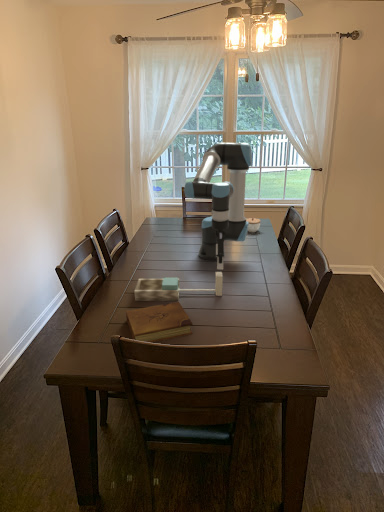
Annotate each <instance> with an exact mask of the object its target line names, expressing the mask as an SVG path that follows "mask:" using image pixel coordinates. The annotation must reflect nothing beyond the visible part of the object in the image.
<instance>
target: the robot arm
mask: <svg viewBox="0 0 384 512" xmlns="http://www.w3.org/2000/svg"><path fill="white" fill-rule="evenodd" d="M201 160H202V162H201V164H200V166H199V168H198V170H197V171H196V172H197V173H196V174H195V176H194V178H193V180H192V181H187V182H185V184H184V189H183V191H184V195H185V197H186V198H188V199H200V200H202V199H203V200H211V211H210V212H209V213H210V215H211V216H207V217H205V218H203V219H202V221H201V227H200V228H201V244H200V248H199V249H198V257H199V258H200V259H203V260H206V261H217V262H216V265H217V266H216V270H224V257H225V248H224V246H225V245H224V242H225V241H229V242H245V240H247V239H246V238H247V234H248V232H249V231H248V226H249V222H248V221H246V219H247V217H246V216H245V197H246V196H245V195H246V175H247V172H248V171H249V169H250V167H251V166H253V152H252V147H251V144H250V143H247V142H218V143H215V144H213V145H212V146H210V147H209V148H207V149H206V150H205V152H204V153H203V155H202V159H201ZM218 166H226V169H227V170H228V171H229V181H226V180H225V181H221V182H211V180H212V178H213V175H214V173H215V171H216V169H217V168H218Z"/></svg>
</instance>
